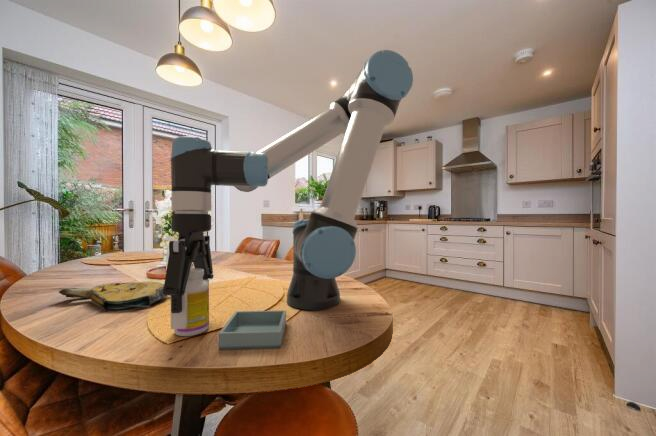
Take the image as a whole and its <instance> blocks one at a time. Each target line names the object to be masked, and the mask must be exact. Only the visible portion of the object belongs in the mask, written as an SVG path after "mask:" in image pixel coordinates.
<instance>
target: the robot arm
mask: <svg viewBox="0 0 656 436" xmlns="http://www.w3.org/2000/svg"><path fill="white" fill-rule="evenodd" d="M413 75H414V73H413V71H412V68H411V67H410V66H409V61H407V59H406V58H405V57H403V55H401V54H399V53H398V52H396V51H394V50H390V49H383V50H379V51H376V52H374V53H373V54H372V55H370V57H369V58H368V59H367V60H366V61H365V62H364V65H363V66H362V67H361V70H360V72H359V73H357V75H356V77H355V78H354V79H353V82H352V83H351V85H350V86H349V87H348V89H347V90H346V91H345V92H344V94H342V95H341V96H340V97H339V98H338V99H336V100H335V101H332V102H331V104H330V105H329V109H327V110H326V111H325V110H324V112H322V113H320V114H319V115H317V116H315V117H314V118H312V119H310V120H308V121H306V122H305V123H304V124H302V125H301V126H298V127H297V128H295V129H293V130H292V131H290V132H289V133H287V134H285V135H283V136H282V137H280V138H278V139H277V140H275V141H273V142H272V143H269V145H268V144H267V146H265V147H264V148H261V149H260V150H258V151H252V150H250V151H239V150H238V151H237V150H218V149H213V147H212V144H211V142H210V141H209V140H207V139H205V138H202V137H195V136H189V135H185V136H184V135H181V136H177V137H175V138H173V140H172V142H171V156H170V173H171V175H170V177H171V181H170V182H171V197H169V200H170V201H171V211H173V212H174V213H172V215H171V216H170V217H171V218H170V220H171V221H170V223H171V224H170V225H171V226H170V228H171V231H172V232H174V233H178V238H177V240H169V243H168V258H167V259H168V260H167V264H166V271H165V278H164V282H163V284H164V289H163V294H164V295H165V296H166V297H167V296H168V297H169V296H170V330H174V329H186V328H187V294H184V293H185V289H186V285H187V281H188V277H189V272H190V269H192V264H193V267H194V268H200V269H204V275H203V280H205V281H206V282H207V283H208V284H209V285H210V280H212V279H214V269H213V261H212V253H211V246H210V245H211V244H210V243H211V241H210V240H211V239H210V238H211V237H210V235H204V232H205V233H207V232H209V231H211V230H212V216H211V214H210V213H209V212H211V211H212V186H223V187H234V188H235V189H236V190H238V191H240V192H244V193H249V192H253V191H254V190H256V189H257V188H259V187H261V188H262V187H266V186H267V185H268V182H269V180H270V179H271V178H272V177H274V176H276V175H277V174H279V173H281V172H282V171H284V170H286V169H287V168H289V167H290V166H292V165H293V164H295V163H297V162H298V161H300V160H302V159H303V158H305V157H307V156H308V155H310V154H312V153H313V152H315V151H316V150H318V149H319V148H321V147H323V146H324V145H326V144H328V143H329V142H330V141H332V140H333V139H336V138H337V137H339V136H340V135H342V134H344V136H343V138H342V141H341V145H340V148H339V151H338V154H337V156H336V159H335V163H334V164H333V168H332V171H331V173H330V177H329V180H328V182H327V185H326V188H325V191H324V193H323V194H324V195H323V197H322V199H321V203H320V206H319V207H318V208H316V209H314V210H312V211H311V212H310V216H309V218H306V219H299V220H296V221H295V222H294V223H293V229H292V234H293V235H292V236H293V237H292V238H293V239H292V240H293V241H292V242H293V243H292V244H293V245H292V246H293V247H292V249H293V250H292V251H293V253H292V254H293V255H292V259H293V260H292V263H293V264H292V269H293V270H292V272H293V273H292V277H291V280H290V284H289V287H288V290H287V293H286V304H287V305H288V306H290V307H291V308H294V307H295V309H298V308H299V310H305V311H306V310H307V311H315V310H317V311H320V310H325V309H326V310H327V309H331V308H333V307H336V306H338V304H340V303H341V293H340V289H339V286H338V284H337V278H338V277H340V276H342V275H344V274H346V273H347V272H348V270H350V269H351V268H352V266H353V264H354V262H355V259H356V256H357V248H356V247H357V246H356V244H355V241H354V240H355V238H356V234H357V231H358V229H359V226H358V224H357V222H356V220H355V218H356V215H357V211H358V207H359V205H360V203H361V200H362V196H363V193H364V190H365V187H366V184H367V182H368V179H369V175H370V173H371V170H372V166H373V164H374V160H375V158H376V154H377V151H378V149H379V145H380V143H381V139H382V137H383V133H384V131H385V128H386V126H387V127H388V126H389V125H391V124H392V123H393V122H394V120H395V117H396V115H397V111H398V109H399V106H400V103H401V101H402V100H403V99H404V98H405V97H407V95H408V94H409V92H410V91H411V89H412V87H413V84H414V83H413V82H414V76H413Z"/></svg>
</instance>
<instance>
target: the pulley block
mask: <svg viewBox="0 0 656 436" xmlns="http://www.w3.org/2000/svg"><path fill="white" fill-rule="evenodd" d="M163 289H164V283H162V282H160V281H134V282H133V281H132V282H113V283H104V284H100V285H97V286H95V287H92V288H82V287H72V288H64V289H61V290H58V294H60V295H63V296H65V297H66V298H72V299H73V298H75V299H76V298H78V299H79V298H80V299H91V302H92V304H93V306H95V307H98V308H99V309H100V310H103V311H104V312H107V311H110V312H127V311H128V312H129V311H135V310H139V309H144V308H151V305H152V304H156V302H158V301H159V300H163V299H166V298H167V296H165V295H164V294H163Z"/></svg>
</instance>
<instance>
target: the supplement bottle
mask: <svg viewBox="0 0 656 436" xmlns="http://www.w3.org/2000/svg"><path fill="white" fill-rule="evenodd" d="M203 275H204V269H200V268H195V267H194V268H192V267H191V268H190V272H189V277H188V281H187V285H186V289H185V293H184V294H187V328H186V329H173V332H174V334H175V335H177V336H179V337H192V336H196V335H199V334H202V333H204V332H205V331H207V330H208V328H209V327H210V283H209V284H208V283H207V282H206V281H205V280H203Z"/></svg>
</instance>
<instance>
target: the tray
mask: <svg viewBox="0 0 656 436" xmlns="http://www.w3.org/2000/svg"><path fill="white" fill-rule="evenodd" d="M286 325H287V310H243V311H242V310H241V311H240V310H235V311H234V312H233V314H232V315H231V317H230V318H229V319H228V321H227V322H226V323H225V325H224V326H223V327H222V328H221V330H220V331H219V332H218V350H219V351H221V350H222V351H223V350H227V351H228V350H229V351H230V350H255V349H256V350H261V349H266V350H267V349H281V347H282V343H283V339H284V335H285V331H286Z"/></svg>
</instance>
